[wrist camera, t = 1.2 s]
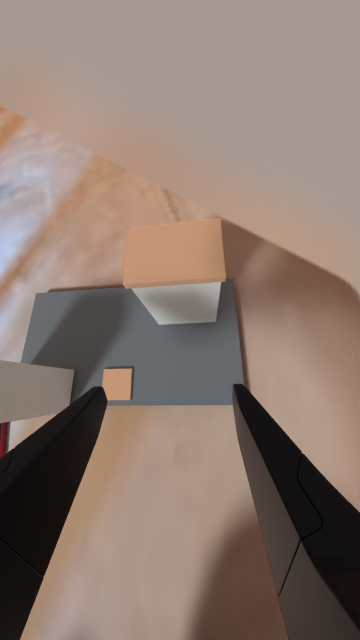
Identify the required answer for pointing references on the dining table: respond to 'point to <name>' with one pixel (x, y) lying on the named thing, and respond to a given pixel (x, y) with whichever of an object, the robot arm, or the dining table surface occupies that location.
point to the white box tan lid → (176, 269)
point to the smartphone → (3, 438)
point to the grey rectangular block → (33, 390)
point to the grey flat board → (136, 348)
